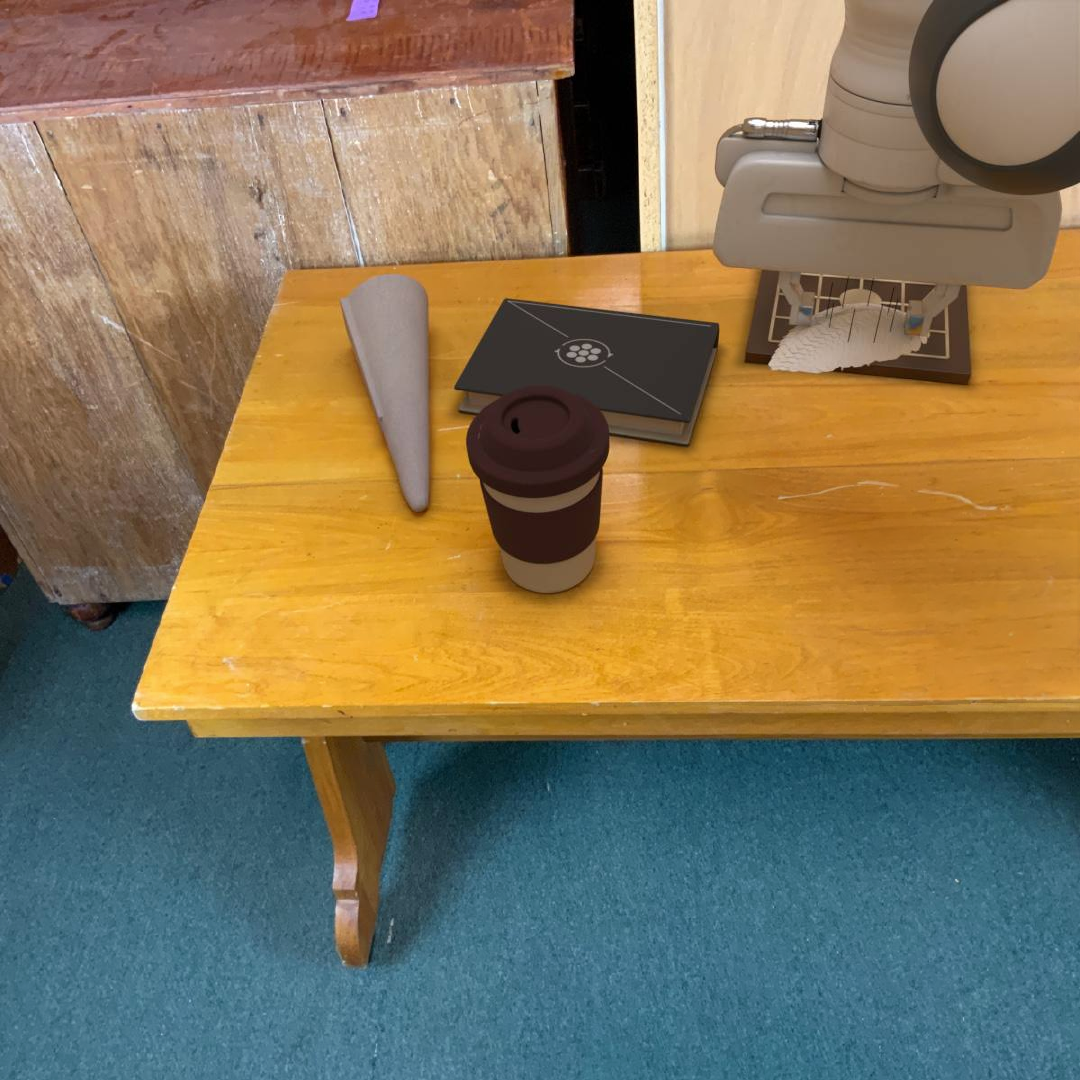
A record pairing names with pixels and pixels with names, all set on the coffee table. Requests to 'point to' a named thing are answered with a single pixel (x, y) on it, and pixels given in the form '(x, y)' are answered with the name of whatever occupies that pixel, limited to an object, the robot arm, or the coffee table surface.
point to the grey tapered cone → (396, 371)
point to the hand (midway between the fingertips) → (857, 325)
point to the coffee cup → (541, 482)
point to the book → (598, 364)
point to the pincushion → (846, 339)
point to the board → (948, 329)
